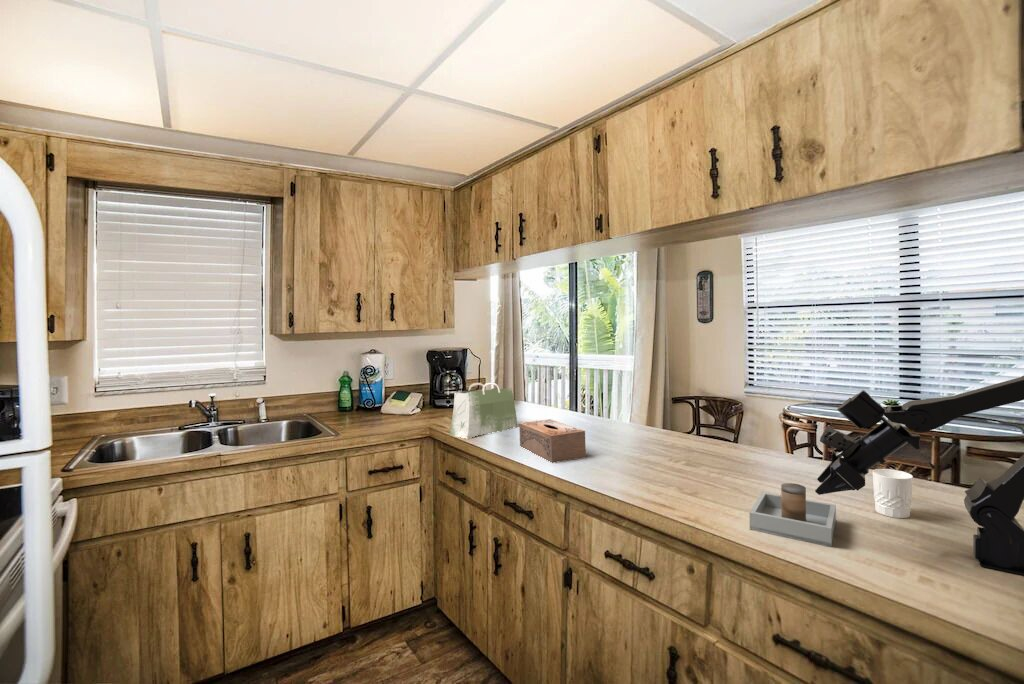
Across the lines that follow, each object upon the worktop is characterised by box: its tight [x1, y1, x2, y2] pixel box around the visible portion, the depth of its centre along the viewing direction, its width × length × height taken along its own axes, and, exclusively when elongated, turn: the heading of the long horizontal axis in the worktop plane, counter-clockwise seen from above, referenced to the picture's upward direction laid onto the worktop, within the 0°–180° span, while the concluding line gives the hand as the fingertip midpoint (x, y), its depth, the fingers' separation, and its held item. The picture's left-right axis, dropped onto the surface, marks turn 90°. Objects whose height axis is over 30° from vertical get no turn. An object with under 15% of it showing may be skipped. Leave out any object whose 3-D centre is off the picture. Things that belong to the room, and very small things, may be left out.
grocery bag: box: [448, 382, 519, 440], centre depth 223 cm, size 32×14×23 cm, turn 135°
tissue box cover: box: [518, 418, 587, 463], centre depth 184 cm, size 26×14×10 cm, turn 25°
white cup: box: [872, 468, 914, 519], centre depth 118 cm, size 8×8×10 cm
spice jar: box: [780, 482, 807, 522], centre depth 113 cm, size 5×5×8 cm
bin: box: [748, 491, 837, 548], centre depth 113 cm, size 16×16×4 cm
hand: (817, 486), depth 110 cm, fingers open, 9 cm apart
